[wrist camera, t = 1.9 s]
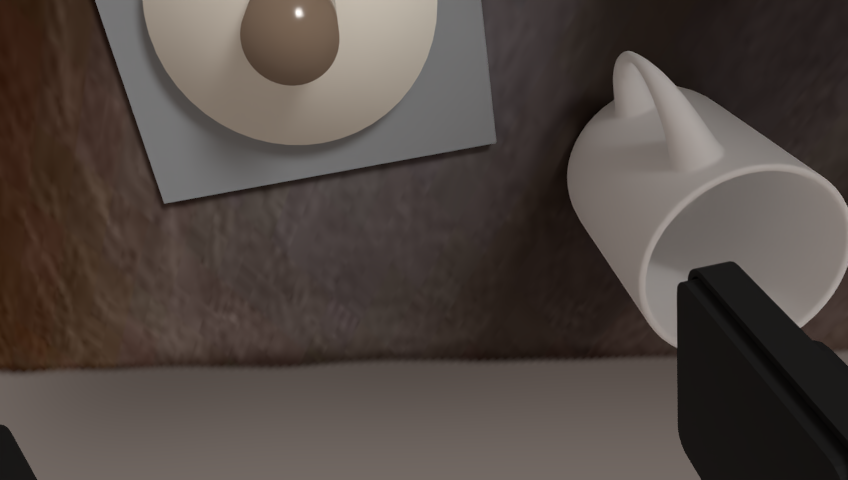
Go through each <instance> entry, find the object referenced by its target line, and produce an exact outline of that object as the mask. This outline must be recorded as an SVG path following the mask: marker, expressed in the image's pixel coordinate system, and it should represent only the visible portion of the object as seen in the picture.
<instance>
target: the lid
mask: <svg viewBox="0 0 848 480" xmlns="http://www.w3.org/2000/svg"><path fill="white" fill-rule="evenodd" d="M142 1H143V10H144V17H145V21H146V25H147V29H148V33H149V36H150V38H151V41H152V44H153V46H154V49H155V51H156V54H157V55H158V57H159V59H160V61H161V63H162V65H163V67H164V68H165V70H166V72H167V73H168V75H169V76H170V77H171V79H172V80H173V82H174V83H175V84H176V86H177V87H178V88H179V89H180V90H181V91H182V92H183V94H184V95H185V96H186V97H187V98H188V99H189V100H190V101H191V102H192V103H193V104H194V105H196V106H197V107H198V108H199V109H200V110H201V111H202V112H204V113H205V114H206V115H208V116H209V117H211V118H212V119H214V120H215V121H217V122H218V123H220V124H222V125H224V126H225V127H227V128H229V129H231V130H233V131H235V132H237V133H240V134H243V135H245V136H248V137H251V138H253V139H257V140H261V141H265V142H270V143H276V144H285V145H311V144H319V143H325V142H329V141H333V140H337V139H341V138H344V137H346V136H349V135H351V134H354V133H357V132H359V131H360V130H362V129H364V128H366V127H368V126H370V125H371V124H373V123H374V122H376V121H377V120H379V119H380V118H381V117H383V116H384V115H386V114H387V113H388V112H389V111H390V110H391V109H392V108H393V107H394V106H395V105H396V104H398V103H399V102H400V100H401V99H402V98H403V97H404V96H405V94H406V93H407V92H408V91H409V90H410V88H411V87H412V85H413V84H414V82H415V80H416V79H417V77H418V76H419V74H420V72H421V70H422V68H423V66H424V64H425V61H426V59H427V57H428V54H429V51H430V48H431V45H432V41H433V37H434V32H435V26H436V20H437V0H142Z"/></svg>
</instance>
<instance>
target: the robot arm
mask: <svg viewBox="0 0 848 480" xmlns="http://www.w3.org/2000/svg"><path fill="white" fill-rule="evenodd" d="M677 375H678V376H677V378H678V380H677V381H678V382H677V383H678V432H679V437H680V440H681V444H682V446H683V449H684V451H685V453H686V454H687V456H688V458H689V460H690V461H691V463H692V465H693V466H694V468H695V470H696V471H697V473H698V475H699V476H700V478H701V480H848V366H847V365H846V364H845V363H844V362H843V361H842V360H841V359H840V358H839V357H838V356H837V355H836V354H835V353H834V352H833V351H832V350H831V349H830V348H829V347H827V346H826V345H825V344H823V343H822V342H818V341H815V340H813V341H812V340H811V339H810V338H809V337H808V336H807V335H806V334H805V333H804V332H803V331H802V330H801V329H800V328H799V326H798V325H797V324H796V323H795V322H794V321H793V320H792V319H791V318H790V317H789V316H788V315H787V314H786V313H785V312H784V311H783V310H782V309H781V308H780V307H779V306H778V305H777V304H776V303H775V302H774V301H773V300H772V299H771V298H770V297H769V296H768V295H767V294H766V293H765V292H764V291H763V290H762V289H761V288H760V287H759V286H758V285H757V284H756V283H755V282H754V281H753V280H752V279H751V278H750V277H749V275H748V274H747V273H746V272H745V271H744V270H743V269H742V268H741V267H740V266H739V265H737V264H736V263H735V262H732V261H728V262H724V263H719V264H714V265H709V266H705V267H700V268H695V269H692V270H691V271H690V272H689V275H688V281H684V282H680V283H679V284H678V286H677ZM0 480H37V479H36V477H35V475H34V473H33V472H32V470H31V468H30V466H29V464H28V462H27V460H26V459H25V457H24V455H23V453H22V451H21V450H20V448H19V446H18V444H17V442H16V441H15V439H14V437H13V435H12V433H11V432H10V430H9V429H8V428H7V427H6V426H4V425H0Z"/></svg>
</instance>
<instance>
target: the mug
mask: <svg viewBox="0 0 848 480" xmlns="http://www.w3.org/2000/svg"><path fill="white" fill-rule="evenodd" d="M613 91H614V100H613V101H611V102H610V103H609V104H607V105H606V106H605V107H603V108H602V109H601V110H600V111H599V112H598V113H597V114H595V115H594V117H593V118H592V119H591V120H590V121H589V122H588V123H587V124H586V126H585V127H584V129H583V130H582V131H581V133H580V135H579V136H578V138H577V140H576V142H575V144H574V147H573V149H572V152H571V155H570V159H569V163H568V170H567V185H568V192H569V196H570V200H571V203H572V206H573V208H574V210H575V212H576V214H577V216H578V218H579V220H580V221H581V223H582V225H583V226H584V228H585V229H586V231H587V232H588V234H589V235H590V237H591V238H592V240H593V241H594V243H595V244H596V246H597V247H598V249H599V250H600V252H601V253H602V255H603V256H604V258H605V259H606V261H607V262H608V263H609V265H610V266H611V268H612V269H613V271H614V272H615V274H616V275H617V277H618V278H619V280H620V281H621V283H622V284H623V286H624V287H625V289H626V290H627V292H628V293H629V295H630V296H631V298H632V299H633V301H634V302H635V304H636V305H637V307H638V308H639V310H640V311H641V313H642V314H643V316H644V317H645V319H646V320H647V322H648V323H649V325H650V326H651V327H652V329H653V330H654V331H655V332H656V333H657V334H658V335H659V336H660V337H661V338H662V339H663V340H665V341H666V342H667V343H669V344H670V345H672V346H674V347H676V348H677V286H678V284H679V283H680V282H684V281H688V275H689V272H690V271H691V270H692V269H695V268H700V267H705V266H709V265H714V264H719V263H724V262H728V261H732V262H735V263H736V264H737V265H739V266H740V267H741V268H742V269H743V270H744V271H745V272H746V273H747V274H748V275H749V277H750V278H751V279H752V280H753V281H754V282H755V283H756V284H757V285H758V286H759V287H760V288H761V289H762V290H763V291H764V292H765V293H766V294H767V295H768V296H769V297H770V298H771V299H772V300H773V301H774V302H775V303H776V304H777V305H778V306H779V307H780V308H781V309H782V310H783V311H784V312H785V313H786V314H787V315H788V316H789V317H790V318H791V319H792V320H793V321H794V322H795V323H796V324H797V325H798V326H799V328H801V327H802V326H803V325H805V324H806V323H807V322H808V321H809V320H811V319H812V318H813V317H814V316H815V315H816V314H817V313H818V312H819V311H820V310H821V309H822V308H823V306H824V305H825V304H826V303H827V302H828V300H829V299H830V298H831V296H832V295H833V294H834V292H835V290H836V289H837V287H838V285H839V284H840V282H841V280H842V278H843V276H844V274H845V271H846V269H847V266H848V207H847V205H846V203H845V201H844V199H843V197H842V196H841V194H840V193H839V192H838V190H837V189H836V188H835V187H834V186H833V185H832V184H831V183H830V182H829V181H828V180H827V179H825V178H824V177H822V176H821V175H820V174H818V173H817V172H815V171H814V170H812V169H811V168H810V167H808V166H807V165H805V164H804V163H802V162H801V161H799V160H798V159H797V158H795V157H794V156H792V155H791V154H789V153H788V152H786V151H785V150H784V149H782V148H781V147H779V146H778V145H776V144H775V143H773V142H772V141H771V140H769V139H768V138H766V137H765V136H763V135H762V134H760V133H759V132H758V131H756V130H755V129H753V128H752V127H750V126H749V125H747V124H746V123H745V122H743V121H742V120H740V119H739V118H737V117H736V116H734V115H733V114H732V113H730V112H729V111H727V110H726V109H724V108H723V107H721V106H720V105H718V104H717V103H715V102H714V101H712V100H711V99H709V98H708V97H706V96H704V95H702V94H700V93H698V92H695V91H693V90H690V89H686V88H683V87H678V86H676V85H675V84H674V83H673V82H672V81H671V80H670V79H669V78H668V77H667V76H666V75H665V74H664V73H663V72H662V71H661V70H660V69H658V68H657V67H656V66H655V65H654V64H652V63H651V62H650V61H648V60H647V59H645V58H644V57H642V56H640V55H638V54H637V53H634V52H632V51H625V52H623V53H621V54H620V55H619V57H618V58H617V60H616V63H615V66H614V71H613Z"/></svg>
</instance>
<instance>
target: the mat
mask: <svg viewBox="0 0 848 480" xmlns="http://www.w3.org/2000/svg"><path fill="white" fill-rule="evenodd" d="M95 2H96V5H97V8H98V11H99V14H100V16H101V19H102V22H103V25H104V28H105V31H106V34H107V37H108V40H109V43H110V46H111V49H112V52H113V55H114V58H115V61H116V63H117V66H118V69H119V72H120V75H121V78H122V81H123V84H124V87H125V90H126V93H127V96H128V99H129V102H130V105H131V108H132V110H133V113H134V116H135V119H136V122H137V125H138V128H139V131H140V134H141V137H142V140H143V143H144V146H145V149H146V152H147V155H148V157H149V160H150V163H151V166H152V169H153V172H154V175H155V178H156V181H157V184H158V187H159V190H160V193H161V196H162V199H163V202H164V204H165V203H171V202H176V201H182V200H187V199H192V198H198V197H203V196H209V195H214V194H220V193H225V192H231V191H236V190H242V189H247V188H253V187H258V186H264V185H269V184H274V183H280V182H285V181H291V180H296V179H302V178H307V177H313V176H318V175H324V174H329V173H335V172H340V171H346V170H351V169H356V168H362V167H367V166H373V165H378V164H384V163H389V162H395V161H400V160H406V159H411V158H417V157H422V156H428V155H433V154H438V153H444V152H449V151H455V150H460V149H466V148H471V147H477V146H482V145H488V144H493V143H496V134H495V124H494V115H493V106H492V97H491V87H490V78H489V69H488V59H487V50H486V41H485V31H484V22H483V13H482V3H481V0H437V20H436V26H435V32H434V37H433V41H432V45H431V48H430V51H429V54H428V57H427V59H426V61H425V64H424V66H423V68H422V70H421V72H420V74H419V76H418V77H417V79H416V80H415V82H414V84H413V85H412V87H411V88H410V90H409V91H408V92H407V93H406V94H405V96H404V97H403V98H402V99H401V100H400V102H399V103H398V104H396V105H395V106H394V107H393V108H392V109H391V110H390V111H389V112H388V113H387V114H386V115H384V116H383V117H381V118H380V119H379V120H377V121H376V122H374V123H373V124H371V125H370V126H368V127H366V128H364V129H362V130H360V131H359V132H357V133H354V134H351V135H349V136H346V137H344V138H341V139H337V140H333V141H329V142H325V143H319V144H311V145H285V144H276V143H270V142H265V141H261V140H257V139H253V138H251V137H248V136H245V135H243V134H240V133H237V132H235V131H233V130H231V129H229V128H227V127H225V126H224V125H222V124H220V123H218V122H217V121H215V120H214V119H212V118H211V117H209V116H208V115H206V114H205V113H204V112H202V111H201V110H200V109H199V108H198V107H197V106H196V105H194V104H193V103H192V102H191V101H190V100H189V99H188V98H187V97H186V96H185V95H184V94H183V92H182V91H181V90H180V89H179V88H178V87H177V86H176V84H175V83H174V82H173V80H172V79H171V77H170V76H169V75H168V73H167V72H166V70H165V68H164V67H163V65H162V63H161V61H160V59H159V57H158V55H157V54H156V51H155V49H154V46H153V44H152V41H151V38H150V36H149V33H148V29H147V25H146V21H145V17H144V10H143V1H142V0H95Z"/></svg>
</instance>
